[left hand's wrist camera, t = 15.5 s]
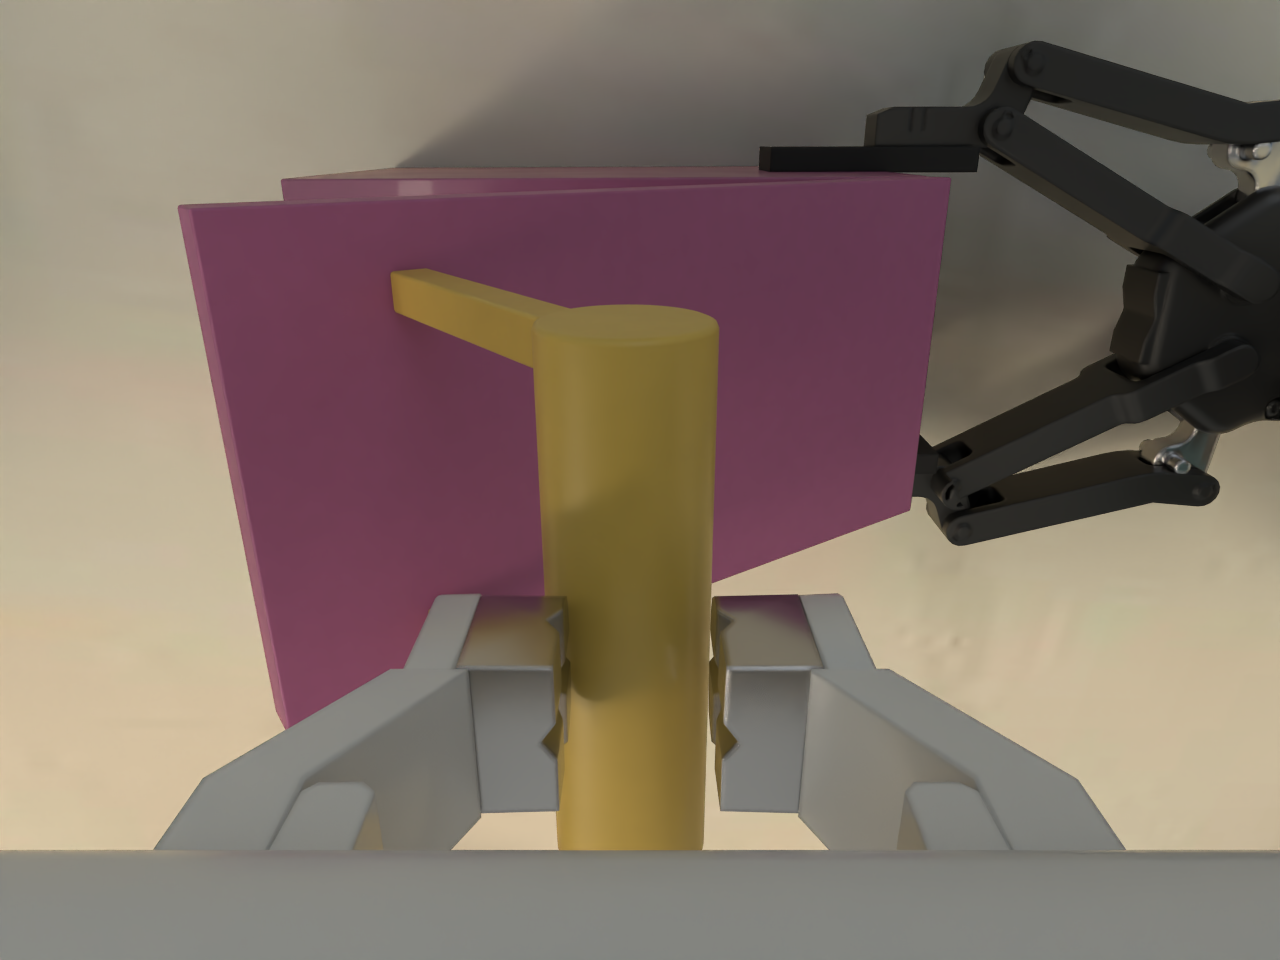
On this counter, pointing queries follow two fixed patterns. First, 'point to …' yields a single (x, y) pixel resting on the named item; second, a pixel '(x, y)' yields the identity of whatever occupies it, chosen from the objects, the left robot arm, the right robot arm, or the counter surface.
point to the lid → (562, 430)
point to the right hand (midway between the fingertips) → (757, 315)
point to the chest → (534, 180)
